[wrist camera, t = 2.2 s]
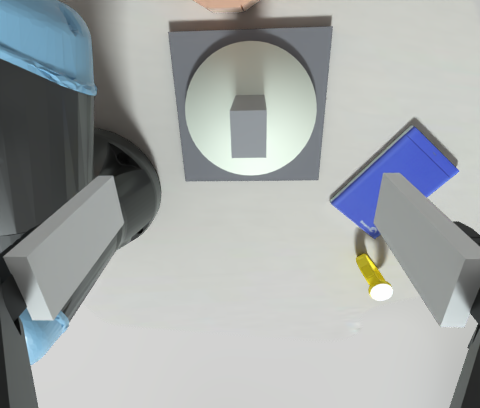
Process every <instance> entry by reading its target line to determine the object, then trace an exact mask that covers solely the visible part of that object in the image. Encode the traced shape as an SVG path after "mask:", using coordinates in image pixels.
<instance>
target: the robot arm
mask: <svg viewBox="0 0 480 408" xmlns="http://www.w3.org/2000/svg"><path fill="white" fill-rule="evenodd" d="M96 94H97V87H96V85H95V84H94V74H93V56H92V40H91V35H90V32H89V29H88V27H87V25H86V23H85V22H84V20H83V19H82V17H81V16H80V15H79V14H78V13H77V12H76V11H75V10H74V9H72V8H71V7H69V6H68V5H66V4H64V3H62V2H60V1H58V0H0V408H38V403H37V398H36V392H35V387H34V383H33V377H32V371H31V366H30V365H32V364H34V363H35V362H37V361H38V360H39V359H41V358H42V357H43V356H44V355H45V354H46V353H47V351H48V350H49V349H50V347H51V346H52V345H53V344H54V342H55V341H56V340H57V339H58V338H59V337H60V335H61V334H62V333H64V332H65V331H66V329H67V328H68V326H69V322H70V320H71V319H72V317H73V316H74V314H75V313H76V311H77V310H78V308H79V307H80V305H81V304H82V302H83V301H84V299H85V297H86V296H87V294H88V293H89V291H90V290H91V288H92V287H93V285H94V284H95V282H96V281H97V279H98V277H99V276H100V274H101V273H102V271H103V270H104V268H105V267H106V265H107V264H108V262H109V261H110V259H111V257H112V256H113V255H114V253H115V252H116V250H118V249H120V248H121V247H123V246H125V245H126V244H128V243H129V242H131V241H133V240H134V239H136V238H138V237H139V236H140V235H142V234H143V233H144V232H145V231H146V230H147V228H148V227H149V226H150V224H151V223H152V221H153V219H154V218H155V216H156V214H157V212H158V209H159V206H160V201H161V188H160V183H159V179H158V176H157V174H156V171H155V169H154V167H153V166H152V164H151V162H150V161H149V160H148V158H147V157H146V156H145V155H144V154H143V153H142V151H141V150H139V149H138V148H137V147H136V146H135V145H134V144H132V143H131V142H130V141H128V140H126V139H125V138H123V137H121V136H119V135H117V134H115V133H112V132H109V131H106V130H102V129H96V128H94V95H96ZM374 225H375V226H376V228H377V229H378V231H379V232H380V234H381V235H382V237H383V239H384V240H385V242H386V243H387V245H388V246H389V248H390V250H391V251H392V253H393V254H394V256H395V257H396V259H397V260H398V262H399V264H400V265H401V267H402V268H403V270H404V271H405V273H406V274H407V276H408V278H409V279H410V281H411V282H412V284H413V285H414V287H415V289H416V290H417V292H418V293H419V295H420V296H421V298H422V299H423V301H424V303H425V304H426V306H427V307H428V309H429V310H430V312H431V313H432V315H433V317H434V318H435V320H436V321H437V323H438V324H439V326H440V327H465V325H466V322H467V320H468V318H469V315H470V313H471V315H472V316H473V317H474V319H475V320H476V321H477V322H478V325H477V327H476V330H475V332H474V334H473V336H472V339H471V341H470V343H469V345H468V348H469V350H468V353H467V356H466V359H465V363H464V365H463V368H462V371H461V375H460V377H459V380H458V383H457V386H456V389H455V393H454V396H453V399H452V402H451V405H450V408H480V235H479V234H478V233H477V232H475V231H474V230H473V229H472V228H470V227H468V226H466V225H464V224H462V223H460V222H452V221H451V220H450V219H449V218H448V217H447V216H446V215H445V214H444V213H443V212H442V211H440V210H439V209H438V208H437V207H436V206H435V205H434V204H433V203H432V202H431V201H430V200H429V199H427V198H426V197H425V196H424V195H423V194H422V193H421V192H420V191H419V190H418V189H417V188H416V187H414V186H413V185H412V184H411V183H410V182H409V181H408V180H407V179H406V178H405V177H404V176H403V175H401V174H400V173H383V176H382V181H381V186H380V191H379V197H378V202H377V207H376V212H375V217H374Z"/></svg>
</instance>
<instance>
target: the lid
mask: <svg viewBox="0 0 480 408" xmlns="http://www.w3.org/2000/svg"><path fill="white" fill-rule="evenodd" d="M316 114H317V103H316V95H315V91H314V87H313V84H312V82H311V79H310V77H309V75H308V74H307V72H306V70H305V69H304V67H303V66H302V65H301V64H300V62H299V61H298V60H297V59H296V58H295V57H294V56H292V55H291V54H290V53H288V52H287V51H285V50H283V49H282V48H280V47H278V46H275V45H272V44H270V43H266V42H260V41H243V42H237V43H233V44H230V45H227V46H225V47H223V48H221V49H219V50H217V51H216V52H214V53H213V54H212V55H210V56H209V57H208V58H207V59H206V60H205V61H204V62H203V63H202V64H201V65H200V66H199V68H198V69H197V71H196V72H195V74H194V76H193V78H192V80H191V82H190V85H189V87H188V91H187V95H186V102H185V116H186V122H187V126H188V130H189V133H190V135H191V137H192V140H193V141H194V143H195V145H196V146H197V148H198V149H199V150H200V152H201V153H202V154H203V155H204V156H205V157H206V158H207V159H208V160H209V161H211V162H212V163H213V164H214V165H216V166H218V167H220V168H221V169H224V170H226V171H228V172H231V173H235V174H240V175H261V174H267V173H270V172H273V171H275V170H277V169H280V168H282V167H283V166H285V165H286V164H288V163H289V162H291V161H292V160H293V159H294V158H295V157H296V156H297V155H298V154H299V153H300V152H301V151H302V149H303V148H304V147H305V145H306V144H307V142H308V140H309V139H310V136H311V134H312V131H313V128H314V125H315V121H316Z"/></svg>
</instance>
